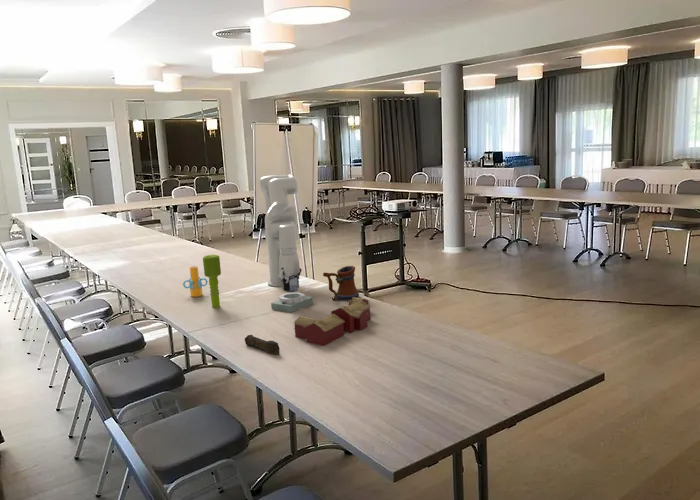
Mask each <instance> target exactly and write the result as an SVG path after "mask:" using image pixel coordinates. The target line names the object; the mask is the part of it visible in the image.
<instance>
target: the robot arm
mask: <svg viewBox="0 0 700 500" xmlns="http://www.w3.org/2000/svg"><path fill="white" fill-rule="evenodd" d="M259 187H260V190H261V192H262V194H263V197H264V200H265V202H264V203H265V212H266V213H265V216H264V225H265V230H264V238H265V242H266V245H267V256H268V267H269V277H270V279H269V281H267V285H268V286H269V287H283V291H284V292H285V291H288V292H287V293H290V292H289V291H290V287H289V283H288V280H289V277H290V276H293V275H294V277H297V283H298V289H299V288H300V281H299V280H300V276H301V274H302V273H301V272H302V271H303V270H302V268H301V267H300V266H301V265H300V259H299V255H298V251H297V248H298V247H297V241H298V238H299V228H298V214H297V209H296V207H295V206H294V205H292V204H290V202H289V197H288V195H296V194H297V193H298V191H299V183H298V181H297V179H296V177H295V176H294V175H292V174H274V175H266V176H262V177H260V179H259ZM285 278H286V279H285Z"/></svg>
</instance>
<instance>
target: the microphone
mask: <svg viewBox="0 0 700 500" xmlns="http://www.w3.org/2000/svg"><path fill="white" fill-rule="evenodd" d="M220 259H221V258H220V255H218V254H207V255H205V256H203V257H202V262H203V272H204V273H203V274H204V277H206V278H208V279H209V280H208V284H209V292H210V293H209V295H210V299H211V301H210V302H211V308H214V309H217V308H219V307H220V308H221V305H220V304H221V303H220V302H221V301H220V290H219V280H218V277H219V276H221V274H222V272H221V271H222V270H221V260H220Z"/></svg>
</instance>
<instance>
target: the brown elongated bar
mask: <svg viewBox="0 0 700 500" xmlns="http://www.w3.org/2000/svg"><path fill="white" fill-rule="evenodd" d="M244 342H245V345H247V346H248V347H249V346H252V347H255V348H258V349H260V350H264V351H266V353H267V354H270V355H277V356H278V355H280V346H279V343H278V342H276V341H275V340H265V339H262V338H259V337H256V336H255V335H252V334H248V335H246V337H244Z"/></svg>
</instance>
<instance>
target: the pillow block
mask: <svg viewBox="0 0 700 500" xmlns="http://www.w3.org/2000/svg"><path fill="white" fill-rule="evenodd" d="M270 304H271V310H272V311H273V310H274V311H280V312H286V313H294V312H296V311H298V310H300V309H303V308H306V307H308V306H310V305H313V304H314V297H313V296H307V295H305V293H302V292H298V291H296V292H285V293H283V294H280V295H279V296H278V300H275V301H272V302H271V303H270Z"/></svg>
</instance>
